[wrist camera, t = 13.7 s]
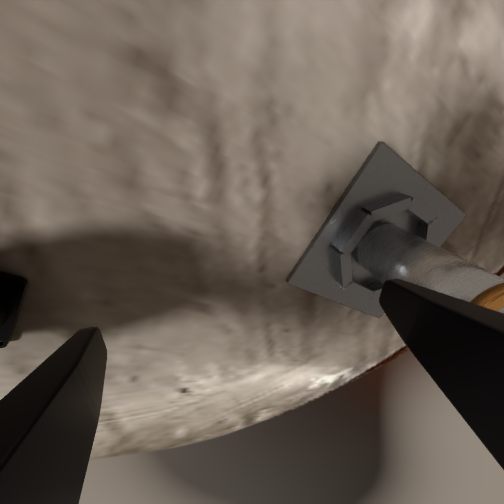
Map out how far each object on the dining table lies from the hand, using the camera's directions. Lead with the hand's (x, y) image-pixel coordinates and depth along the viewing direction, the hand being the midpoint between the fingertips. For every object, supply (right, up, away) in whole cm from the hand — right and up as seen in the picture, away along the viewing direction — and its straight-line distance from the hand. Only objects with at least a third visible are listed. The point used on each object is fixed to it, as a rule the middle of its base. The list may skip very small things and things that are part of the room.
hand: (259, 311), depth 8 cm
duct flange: (+12, +2, +18) cm, 22 cm away
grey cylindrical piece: (+12, +2, +17) cm, 21 cm away
